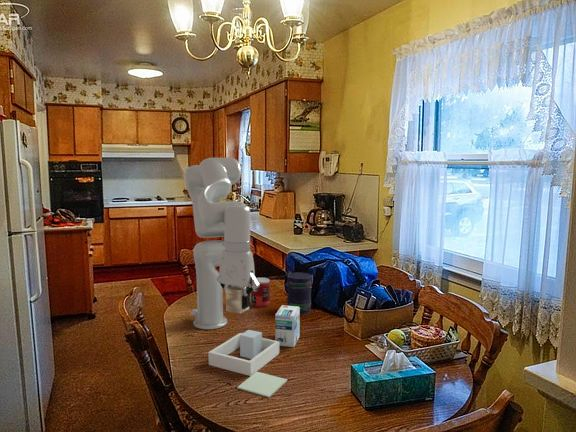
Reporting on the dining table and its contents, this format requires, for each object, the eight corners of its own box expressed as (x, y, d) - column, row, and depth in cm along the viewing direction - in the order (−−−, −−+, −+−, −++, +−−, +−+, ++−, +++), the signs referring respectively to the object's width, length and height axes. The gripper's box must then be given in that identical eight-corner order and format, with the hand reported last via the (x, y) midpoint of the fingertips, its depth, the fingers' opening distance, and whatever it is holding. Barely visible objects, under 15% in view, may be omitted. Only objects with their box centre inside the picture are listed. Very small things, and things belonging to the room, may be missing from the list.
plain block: (240, 356, 140) (239, 335, 139) (248, 350, 144) (248, 329, 143) (253, 359, 137) (253, 338, 136) (261, 353, 142) (261, 332, 141)
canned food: (250, 302, 193) (250, 277, 192) (269, 301, 194) (269, 277, 192) (251, 307, 185) (250, 282, 184) (270, 307, 186) (270, 282, 185)
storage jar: (315, 309, 184) (315, 274, 182) (303, 316, 175) (303, 279, 173) (294, 305, 189) (295, 271, 187) (282, 311, 181) (282, 276, 179)
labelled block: (226, 310, 132) (225, 288, 131) (235, 305, 136) (235, 283, 135) (240, 313, 129) (239, 290, 128) (249, 308, 134) (249, 286, 133)
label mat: (237, 388, 120) (237, 386, 120) (256, 372, 129) (256, 371, 129) (269, 397, 115) (269, 396, 115) (287, 380, 124) (287, 379, 124)
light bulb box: (294, 347, 146) (294, 316, 145) (274, 346, 147) (274, 314, 146) (300, 335, 156) (300, 305, 155) (281, 333, 158) (281, 304, 156)
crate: (208, 364, 134) (208, 352, 133) (240, 344, 148) (240, 332, 148) (250, 376, 127) (250, 362, 126) (279, 353, 142) (279, 341, 141)
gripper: (206, 245, 131) (207, 305, 133) (255, 252, 123) (255, 315, 125) (221, 241, 137) (222, 298, 140) (268, 247, 129) (268, 307, 132)
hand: (237, 305), depth 133 cm, fingers closed on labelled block, 5 cm apart
